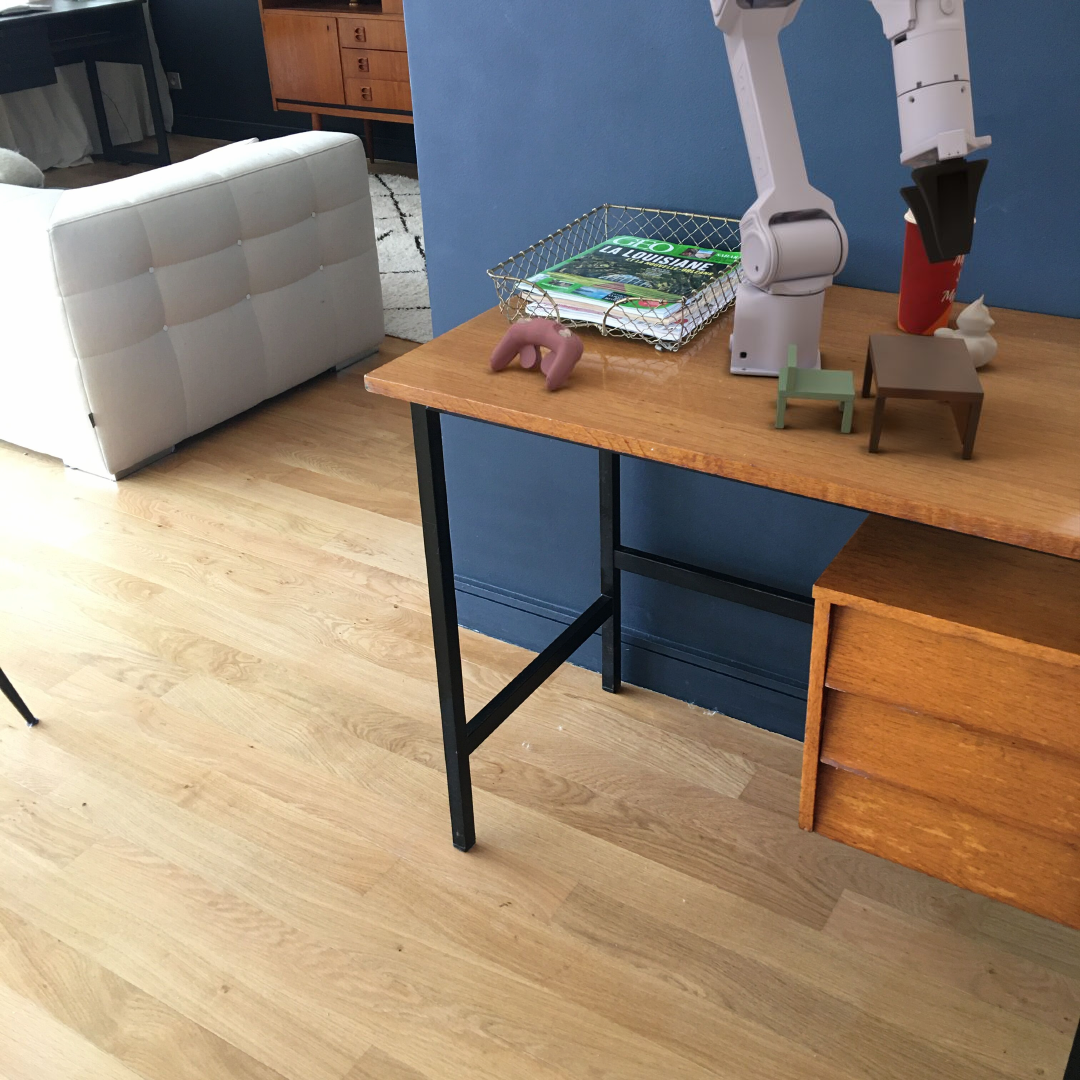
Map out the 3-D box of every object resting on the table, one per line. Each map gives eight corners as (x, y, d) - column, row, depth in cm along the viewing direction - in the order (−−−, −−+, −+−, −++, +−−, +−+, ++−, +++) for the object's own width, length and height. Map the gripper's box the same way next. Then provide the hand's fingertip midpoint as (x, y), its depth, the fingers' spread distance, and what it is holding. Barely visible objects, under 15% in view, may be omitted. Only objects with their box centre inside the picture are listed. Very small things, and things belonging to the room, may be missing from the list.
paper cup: (964, 337, 126) (987, 214, 119) (897, 338, 127) (916, 215, 119) (944, 315, 133) (964, 198, 126) (880, 316, 133) (897, 198, 126)
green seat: (775, 428, 106) (781, 365, 103) (776, 404, 111) (782, 343, 108) (849, 433, 105) (858, 370, 101) (847, 408, 110) (855, 347, 106)
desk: (868, 452, 101) (878, 386, 98) (860, 394, 113) (869, 333, 109) (971, 459, 99) (984, 392, 96) (952, 399, 111) (964, 338, 108)
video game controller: (576, 397, 117) (595, 333, 116) (550, 390, 113) (570, 324, 112) (509, 374, 123) (528, 313, 122) (483, 367, 119) (501, 304, 118)
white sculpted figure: (993, 377, 116) (1008, 303, 112) (927, 370, 118) (940, 298, 114) (993, 359, 120) (1007, 288, 116) (930, 353, 122) (942, 282, 118)
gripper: (1002, 59, 82) (1017, 243, 84) (969, 99, 96) (983, 256, 98) (904, 79, 84) (921, 259, 86) (886, 116, 98) (902, 270, 100)
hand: (949, 259), depth 92 cm, fingers open, 7 cm apart
